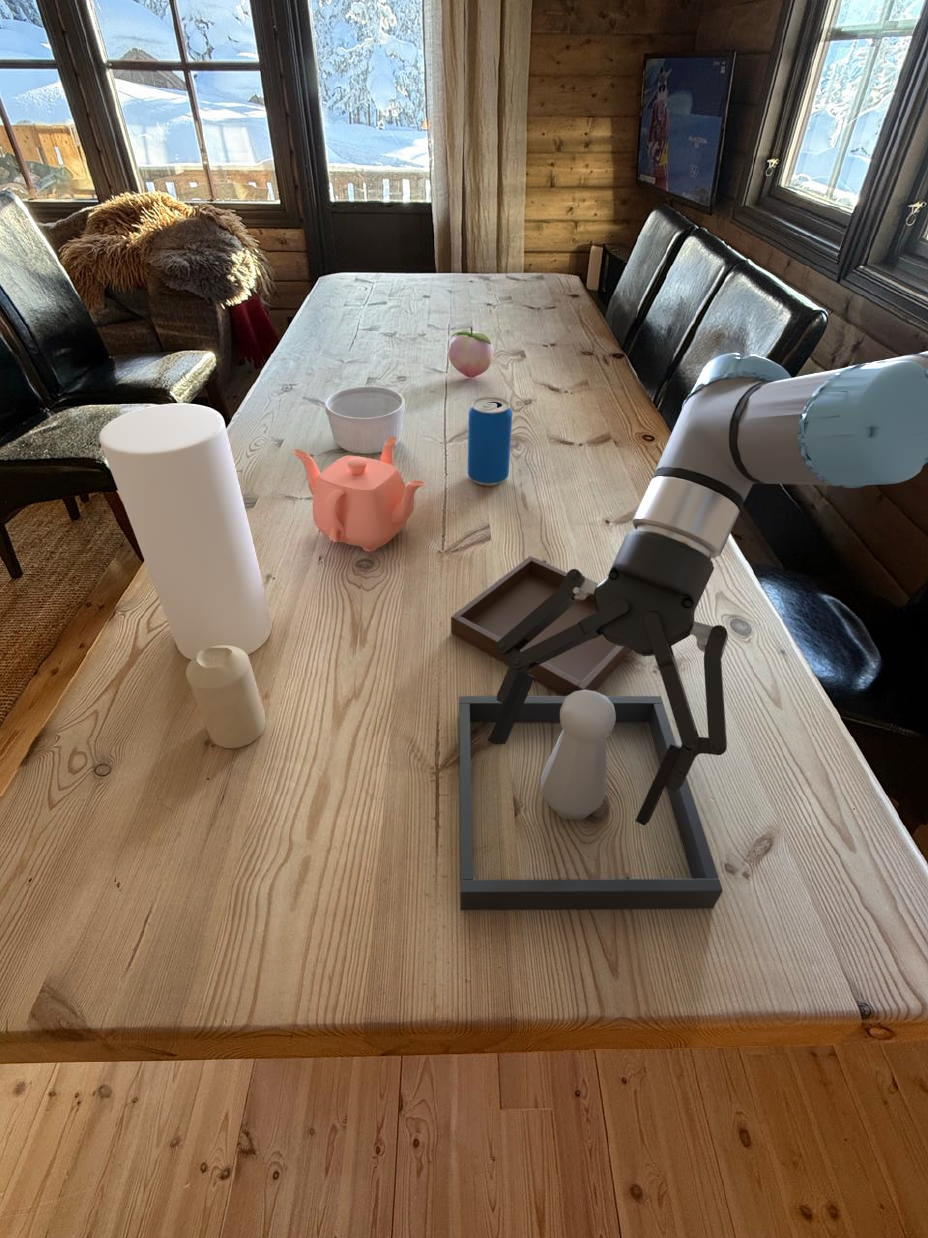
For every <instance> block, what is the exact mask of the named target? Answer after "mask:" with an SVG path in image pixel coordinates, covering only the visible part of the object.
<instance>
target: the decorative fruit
mask: <svg viewBox="0 0 928 1238" xmlns="http://www.w3.org/2000/svg"><path fill="white" fill-rule="evenodd" d="M450 337H451V338H452V337H453V338H452V340H451V341H450V343H449V345H448V350H447V356H448V360H449V362H450V364H451V365H452V367H454V369H455V370H456V371H458V372H459V373H460V374H462V375H463V376H464V377H467V378H470V379H473V378H476V377H477V376H480V375H482V374H483V373H485V372H486V371H488V369H489V368H490V367H491V364H492V362H493V358H494V346H493V343H492V341H491V339H490V338H489V336H488V335H487V334H485V333H483V332H479V331H473V326H471V327H470V331H469V330H465V329H461V330H458V331H455V332H453V333H452V334H451V336H450Z"/></svg>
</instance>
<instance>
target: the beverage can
mask: <svg viewBox="0 0 928 1238" xmlns="http://www.w3.org/2000/svg"><path fill="white" fill-rule="evenodd" d="M467 423H468V424H467V425H468V427H467V430H468V431H467V476H468V477H469V479H470V480H472V481H473V482H475V483H476V484H478V485H481V486H497V485H499V484H501V483H503V482H504V481H505V480H507V479H508V478H509V475H510V462H511V461H510V460H511V458H510V457H511V443H512V441H511V440H512V427H513V426H512V425H513V411H512V408H511V403H510V402H509V401H508V400H507V399H504V398H503V397H499V396H483V397H478V398H476V399H474V400H473V401H472V402H471V407H470V408H469V410H468V421H467Z"/></svg>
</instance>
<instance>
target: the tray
mask: <svg viewBox="0 0 928 1238" xmlns="http://www.w3.org/2000/svg"><path fill="white" fill-rule="evenodd" d="M567 573H568V572H567V571H564V570H562V569H561V568H558V567H556V566H553V565H551V564H549V563H547V562H545V561H543V560H541V559H538V558H536V557H534V556H531V555H529V556H528V557H526V558H525V559H524V560H523V561H522V560H521V562H520V563H518V564H517V565H516V566H515V567H513V568H512V569H511V570H509V571H508V572H507V573H506V574H504V575H503V576H502V577H500V578H499V579H498V580H497V581H495V582H494V583H492V584H491V585H489V587H487V588H486V589H484V590H483V591H482V592H481V593H479V594H478V595H477V596H476V597H475V598H473V599H472V600H470V601H469V602H468V603H467V604H465V605H464V606H462V607H461V608H460V609H459V610H458V611H456V612H455V613H454V614H452V615H451V616H450V634H451V635H453V636H455V637H457V638H458V639H459V640H462V641H463V642H465V643H467V644H469V645H470V646H473V647H474V648H476V649H478V650H479V651H481V652H483V653H485V654H487V655H488V656H490V657H491V658H493V659H495V660H497V661H498V662H501V663H502V664H504V665H506V666H507V667H509V663H508V661H507V660H506V658H505V657H504V656H503V655H502V654H501V653H499V652H498V651H497V650H496V643H497V642H498V641H499V640H500V639H501V638H503V637H504V636H505V635H506V634H507V633H508V632H509V631H511V630H512V629H513V628H514V627H515V626H516V625H518V624H519V623H520V622H521V621H522V620H523V619H524V618H526V617H527V616H528V615H529V614H530V613H531V612H533V611H534V610H535V609H536V608H537V607H538V606H539V605H541V604H542V603H543V602H544V601H545V600H546V599H548V598H549V597H550V596H551V595H552V594H553V593H555V592H556V591H557V590H558V589H559V587H560V585H561V583H562V582H563V580H564V578H565V577H566V575H567ZM596 612H597V611H596V606H595V601H594V595H589V596H587V597H586V598H585V599H584V600H582V601H578V600H577V601H576V602H575V603H574V604H573V605H572V606H571V607H570V608H569V609H568V610H567V611H566V612H564V613H563V614H562V615H561V616H560V617H559V618H557V619H556V620H555V621H554V622H553V623H552V624H550V625H549V626H548V627H547V628H546V629H545V630H543V631H542V632H541V633H540V634H539V635H538V636H536V637H535V638H534V639H533V640H532V641H531V642H529V643H528V644H527V645H526V646H525V647H523V648H522V649H521V650H520V651H521V652H522V651H524V650H526V649H528V648H530V647H532V646H534V645H536V644H538V643H540V642H542V641H544V640H545V639H547V638H549V637H551V636H553V635H555V634H557V633H559V632H561V631H563V630H565V629H567V628H569V627H571V626H573V625H575V624H577V623H578V622H579V621H580V620H582V619H584V618H586V617H588V616H590V615H592V614H594V613H596ZM632 652H633V651H632V650H631V649H630V648H628V647H624V646H618V645H616V644H613V643H611V642H609V641H608V640H606V638H605V637H604V636H603V635H601V636H599V637H597V638H595V639H591V640H588V641H586V642H584V643H582V644H580V645H578V646H576V647H574V648H572V649H570V650H568V651H566V652H564V653H562V654H560V655H558V656H556V657H554V658H552V659H550V660H548V661H546V662H544V663H542V664H540V665H538V666H536V667H534V668H532V669H530V671H529V672H527V674H529V675H531V676H534V677H535V680H534V682H536V683H537V684H539V685H541V686H542V687H545V688H546V689H548V690H550V691H552V692H554V693H556V694H557V695H558V696H568V695H570V694H571V693H573V692H574V691H580V690H590V691H595V692H597V690H598V689H599V687H601V685H603V683H604V682H605V681H606V680H607V679H608V678H609V677H610V676H611V675H612V674H613V672H614V671H616V669H617V668H618V667H619V666H620V665H621V664H622V663H623V661H624V660H626V658H627V657H628V656H629V655H630V654H631V653H632Z"/></svg>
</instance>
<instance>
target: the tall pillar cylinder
mask: <svg viewBox="0 0 928 1238" xmlns="http://www.w3.org/2000/svg"><path fill="white" fill-rule="evenodd" d="M98 438H99V443H100V445H101V449H102V451H103V453H104V457H105V459H106V461H107V465H108V467H109V469H110V473H111V475H112V477H113V480H114V483H115V485H116V488H117V490H118V493H119V496H120V499H121V501H122V502H121V503H122V504H123V507H124V510H125V512H126V515H127V518H128V520H129V523H130V526H131V528H132V530H133V533H134V537H135V538H136V540H137V544H138V546H139V549H140V552H141V555H142V557H143V559H144V562H145V565H146V568H147V571H148V573H149V576H150V578H151V582H152V585H153V587H154V589H155V591H156V594H157V597H158V600H159V602H160V605H161V607H162V610H163V613H164V616H165V618H166V621H167V624H168V626H169V629H170V632H171V635H172V637H173V639H174V642H175V645H176V648H177V649H178V651H179V653H180V654H181V655H182V656H183V657H185V658H186V659H187V660H190V661H191V660H192V659H193V658H194V657H195V656H196V655H197V654H198V652H199V651H202V650H204V649H206V648H210V647H213V646H219V645H228V646H234V647H237V648H240V649H242V650H243V651H244V652H245V653H246V654H247V655H248V656H250V655H251V654H252V653H254V652H256V651H257V650H258V649H259V648H261V647H262V646H263V645H264V644H265V643H266V642H267V640H268V639H269V638H270V635H271V633H272V630H273V620H272V617H271V612H270V607H269V603H268V599H267V595H266V591H265V587H264V582H263V578H262V573H261V570H260V565H259V562H258V556H257V552H256V549H255V545H254V540H253V536H252V532H251V531H252V530H251V527H250V523H249V519H248V515H247V512H246V506H245V502H244V498H243V494H242V491H241V486H240V482H239V477H238V473H237V469H236V465H235V461H234V456H233V453H232V447H231V443H230V440H229V435H228V431H227V426H226V423H225V419H224V417H223V416H222V414H221V413H220V412H219V411H217V410H215V409H214V408H211V407H208V406H205V405H201V404H194V403H165V404H164V403H163V404H158V405H151V406H146V407H141V408H138V409H134V410H132V411H129V412H126V413H123V414H121V415H119V416H117V417H115V418H113V419H112V420H111V421H109V422H108V423H106V424H105V426H104V427H103V428H102V429H101V430H100V432H99V437H98Z"/></svg>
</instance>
